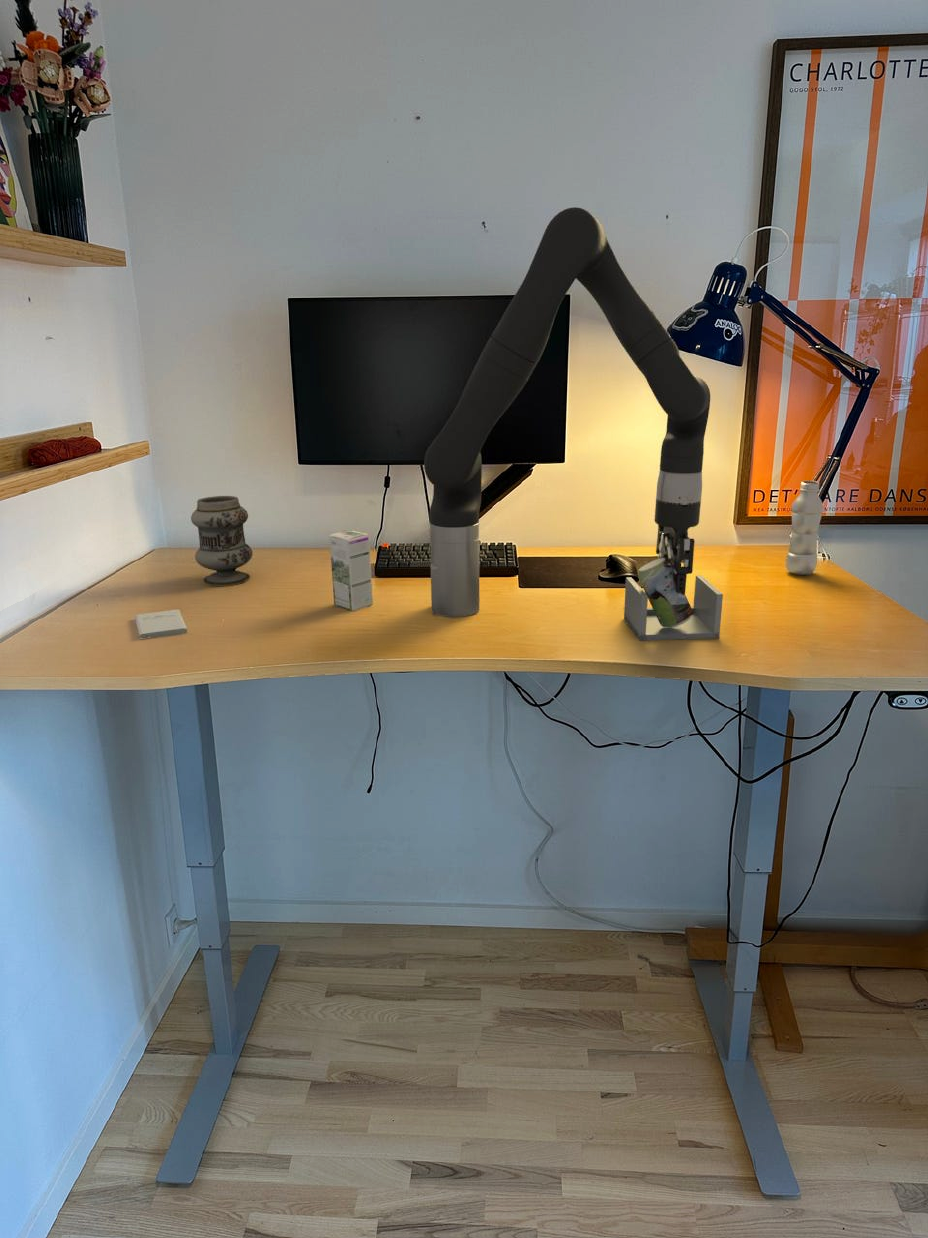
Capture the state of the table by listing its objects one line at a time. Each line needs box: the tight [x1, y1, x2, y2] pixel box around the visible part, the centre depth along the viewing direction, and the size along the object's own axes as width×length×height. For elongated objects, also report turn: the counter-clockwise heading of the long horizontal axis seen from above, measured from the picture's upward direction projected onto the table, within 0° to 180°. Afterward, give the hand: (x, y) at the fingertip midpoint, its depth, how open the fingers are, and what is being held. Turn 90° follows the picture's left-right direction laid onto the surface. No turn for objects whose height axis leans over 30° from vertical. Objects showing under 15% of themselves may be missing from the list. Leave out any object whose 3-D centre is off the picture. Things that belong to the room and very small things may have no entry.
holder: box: [623, 574, 724, 641], centre depth 156 cm, size 14×12×8 cm
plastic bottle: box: [785, 480, 824, 576], centre depth 187 cm, size 6×7×20 cm
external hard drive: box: [134, 609, 188, 639], centre depth 162 cm, size 2×8×12 cm
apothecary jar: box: [190, 495, 253, 587], centre depth 188 cm, size 12×12×18 cm
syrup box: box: [328, 529, 374, 611], centre depth 170 cm, size 6×6×14 cm
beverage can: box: [638, 558, 693, 628], centre depth 152 cm, size 6×7×12 cm
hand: (671, 587), depth 155 cm, fingers open, 8 cm apart
